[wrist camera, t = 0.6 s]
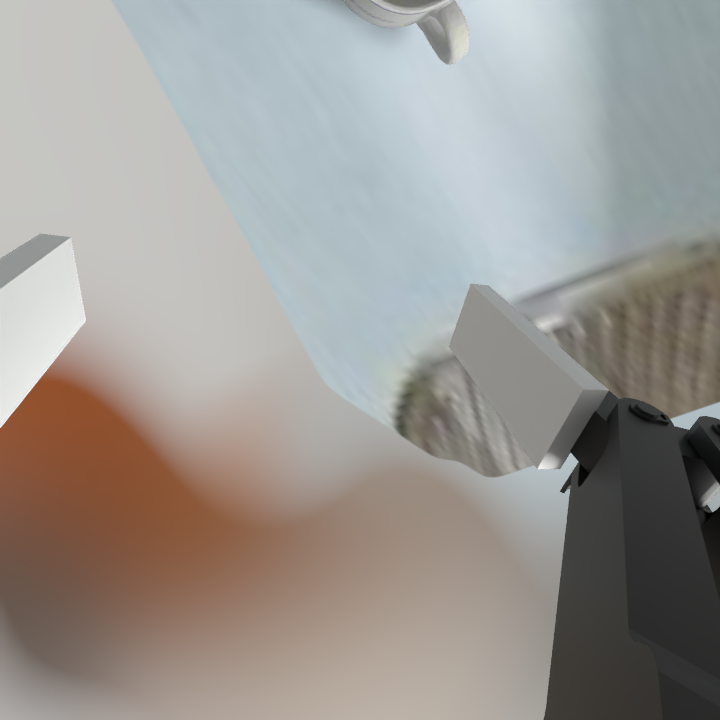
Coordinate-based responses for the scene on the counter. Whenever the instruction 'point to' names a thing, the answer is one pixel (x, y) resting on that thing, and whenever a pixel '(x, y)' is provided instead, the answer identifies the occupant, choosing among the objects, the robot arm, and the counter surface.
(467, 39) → the teacup
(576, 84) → the counter surface
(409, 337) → the counter surface
